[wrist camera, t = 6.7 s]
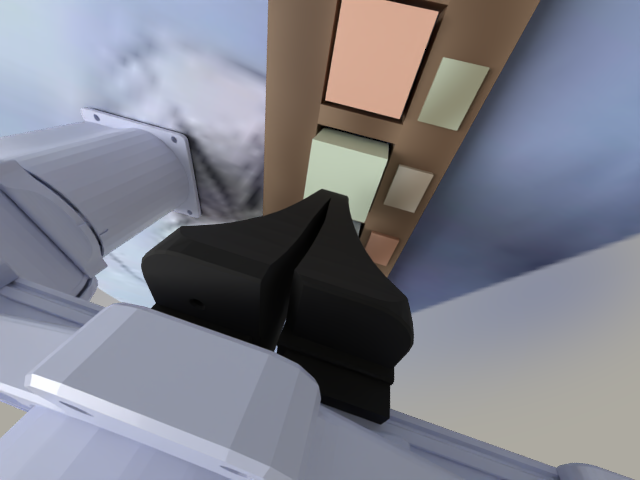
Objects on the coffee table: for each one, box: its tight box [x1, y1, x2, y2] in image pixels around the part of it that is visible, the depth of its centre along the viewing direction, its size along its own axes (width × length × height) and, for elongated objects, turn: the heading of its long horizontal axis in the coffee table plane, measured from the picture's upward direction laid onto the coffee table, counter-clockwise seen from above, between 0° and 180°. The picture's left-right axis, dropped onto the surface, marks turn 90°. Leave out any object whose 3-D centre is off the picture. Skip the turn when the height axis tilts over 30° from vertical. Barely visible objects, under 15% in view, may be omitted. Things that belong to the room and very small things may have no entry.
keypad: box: [263, 0, 540, 277], centre depth 16 cm, size 11×29×3 cm, turn 170°
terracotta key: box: [325, 0, 439, 119], centre depth 12 cm, size 4×4×3 cm
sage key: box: [303, 128, 389, 223], centre depth 14 cm, size 4×4×3 cm
